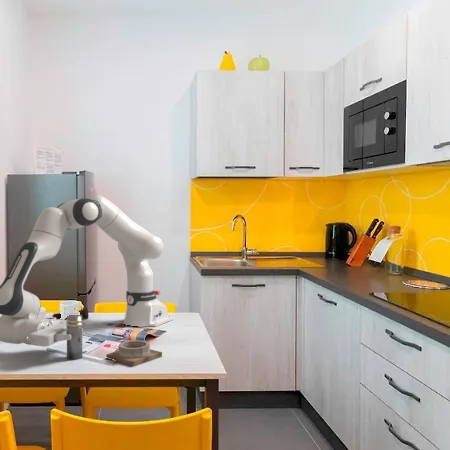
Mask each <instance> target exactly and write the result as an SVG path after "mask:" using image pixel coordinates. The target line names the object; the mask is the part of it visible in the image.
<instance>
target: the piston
mask: <svg viewBox="0 0 450 450" xmlns="http://www.w3.org/2000/svg"><path fill="white" fill-rule="evenodd" d="M66 322H67V323H66V326H67V334H72V335H73V336H72V337H73V338H72V339H71V340H66V359H67V360H69V361H75V360H80V359H83V333H82V328H83V318H82V315H69V316H67V319H66Z"/></svg>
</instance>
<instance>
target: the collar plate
mask: <svg viewBox="0 0 450 450" xmlns="http://www.w3.org/2000/svg"><path fill="white" fill-rule="evenodd" d="M106 357H109V358H111V359H114V360H116V361H117V362H116V361H115V362H116V363H119V364H124V365H127V366H130V367H134V368H135V367H136V366H139V365H142V364H145V363H148V362H151V361H153V360H157V359H158V358H162V357H163V352H161V351H158V350H154V349H152V348H151V344H150V342H149V341H147V340H146V341H145V340H139V339H137V340H136V339H132V340H127V341H123V342H120V343H119V344H118V350H115V351H113V352H109V353H107V354H106Z"/></svg>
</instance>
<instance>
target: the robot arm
mask: <svg viewBox="0 0 450 450" xmlns="http://www.w3.org/2000/svg"><path fill="white" fill-rule="evenodd" d="M94 224H95V225H96V226H97V227H99V229H100V230H101V231H103V232H104V233H105V234H106V235H107V236H108V237H110V238H111V239H112V240H113V241H114V242H117V246H118V247H117V248H118V251H119V252H120V254H121V255H122V257H123V261H124V264H125V269H126V281H127V282H126V283H127V284H126V285H127V286H126V287H127V290H126V292H125V298H126V307H125V308H126V309H125V315H124V319H123V325H124V324H127V325H133V326H138V327H137V328H142V327H159V326H160V325H162V324H166V323H168V322H170V321H173V320H174V317H173V316H171V315H169V314H168V312H169V311H168V307H167V305H166V304H164V303H163V302H162V301H161V300H159V299H158V298H157V296H160V295H161V290H158V289H156V290H154V272H153V270H152V268H151V266H150V264H149V261H152V260H155V259H158V258H160V256H161V255H162V254H163V252H164V242H163V240H162V239H161V238H160V237H159V236H156V235H155V234H153V233H151V232H150V231H149V230H147V229H146V228H144V227H143V226H141V225H139V224H138V223H136V222H135V221H134V220H132V219H131V218H130V216H128V215H127V214H125V212H124V211H122V209H120V208H119V207H118V206H117V205H116V204H114V203H113V202H112V201H111V200H110V199H108V198H107V197H105V196H103V195H100V194H95V195H93V196H91V197H90V198H87V197H86V198H85V197H84V198H77V199H72V200H69V201H67V202H63V203H60V204H59V205H57V206H56V207H51V206H50V207H46V208H44V209H42V211H41V213H40V214H39V215H38V217H37V220H36V222H35V224H34V226H33V229H32V231H31V234H30V235H29V238H28V240H27V241H26V243H24V244H23V245H22V246H21V247H20V249H19V250H18V252H17V254H16V256H15V258H14V259H13V261H12V264H11V266H10V267H9V270H8V271H7V274H6V276H5V278H4V280H3V282H2V283H1V284H0V315H1V316H0V342H1V343H6V344H14V345H20V344H26V345H27V346H28V345H29V346H37V347H51V345H53V344H56V343H58V342H63V341H67V340H71V339H72V338H73V337H72V336H73V335H72V334H67V326H66V323H67V322H66V320H63V319H57V320H56V318H55V317H53V316H52V317H46V318H42V317H41V318H38V316H39V314H40V310H41V307H42V305H41V304H42V303H41V300H40V298H39V297H38V295H36V294H33V292H32V293H31V292H29V291H28V290H25V289H24V285H25V282H26V281H27V278H28V276H29V273H30V272H31V270H32V267H33V266H34V264H35V263H37V262H40V261H47V260H51V259H52V258H54V257H56V256H57V254H58V252H59V251H60V249H61V247H62V244H63V241H64V236H65V233H66V232H67V230H75V229H81V228H84V227H89V226H91V225H94ZM127 325H126V326H127ZM83 333H84V328H83V327H82V334H83Z"/></svg>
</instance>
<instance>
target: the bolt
mask: <svg viewBox="0 0 450 450" xmlns="http://www.w3.org/2000/svg"><path fill="white" fill-rule="evenodd" d="M78 311H79V312H80V315H82V319H84V320H88V319H89V309H88V306H87V307H86V306H84V307H82V309H80V310H78ZM51 316H52V317H55V318H56V320H57V319H60V318H61V314H60V312H58V313H56V312H55V313H53V314H52V315H51Z"/></svg>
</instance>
